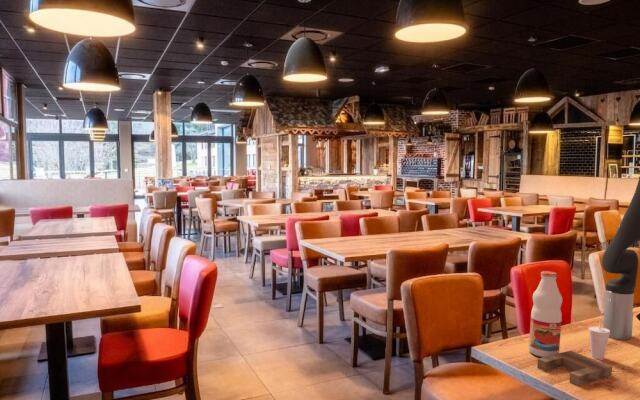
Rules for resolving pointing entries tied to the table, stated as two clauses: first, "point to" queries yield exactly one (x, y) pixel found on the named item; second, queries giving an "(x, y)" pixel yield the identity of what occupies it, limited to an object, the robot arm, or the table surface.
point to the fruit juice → (546, 317)
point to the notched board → (576, 367)
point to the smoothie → (598, 341)
